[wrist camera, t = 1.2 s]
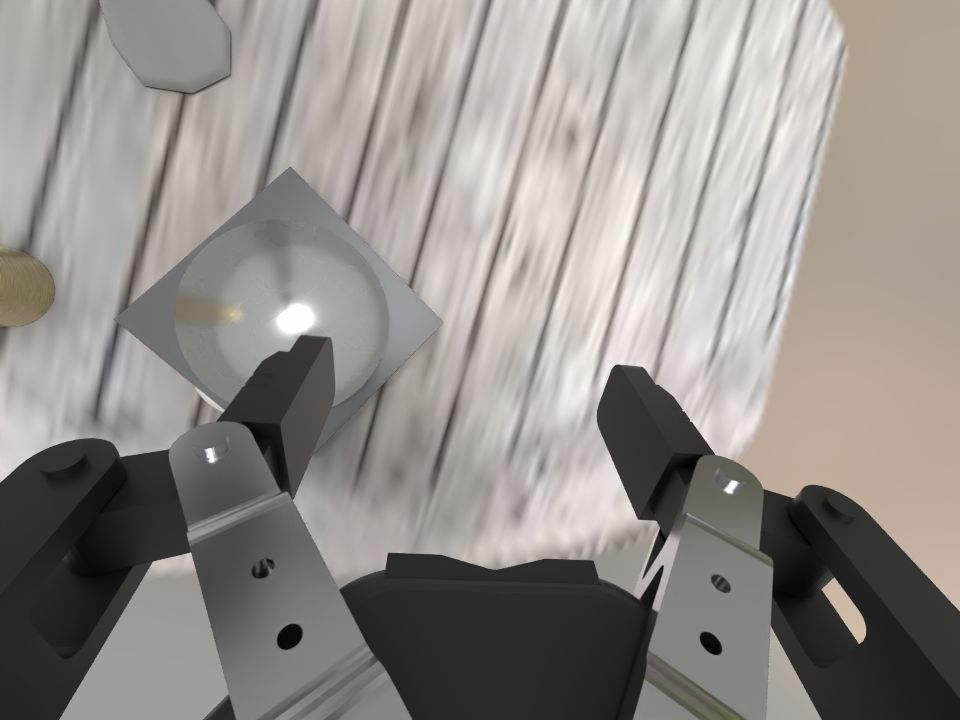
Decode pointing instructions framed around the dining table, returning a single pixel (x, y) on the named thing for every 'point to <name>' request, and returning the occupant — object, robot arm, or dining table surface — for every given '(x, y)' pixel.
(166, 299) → the base
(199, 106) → the dining table surface
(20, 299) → the brass weight
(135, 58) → the flask
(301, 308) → the scale pan
